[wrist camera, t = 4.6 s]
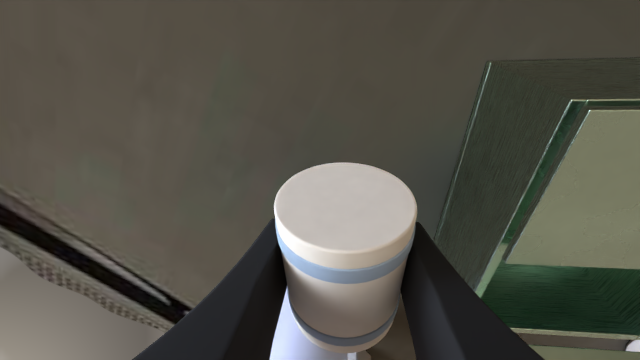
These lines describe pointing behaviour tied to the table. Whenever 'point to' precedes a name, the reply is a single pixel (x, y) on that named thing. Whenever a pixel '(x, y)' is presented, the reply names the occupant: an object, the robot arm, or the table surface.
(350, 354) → the lighter
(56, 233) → the table surface
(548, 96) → the green lidded box
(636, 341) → the can
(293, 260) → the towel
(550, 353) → the green flat panel
